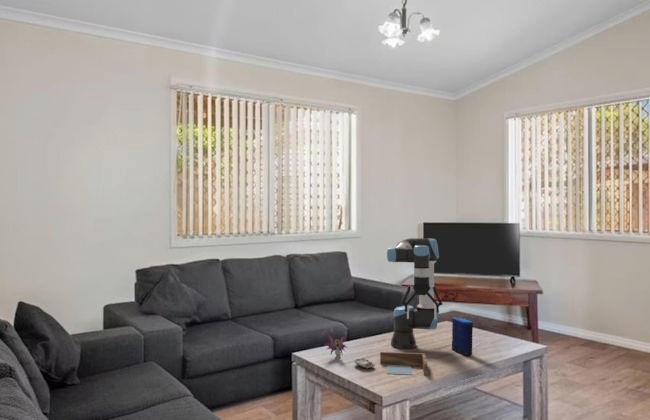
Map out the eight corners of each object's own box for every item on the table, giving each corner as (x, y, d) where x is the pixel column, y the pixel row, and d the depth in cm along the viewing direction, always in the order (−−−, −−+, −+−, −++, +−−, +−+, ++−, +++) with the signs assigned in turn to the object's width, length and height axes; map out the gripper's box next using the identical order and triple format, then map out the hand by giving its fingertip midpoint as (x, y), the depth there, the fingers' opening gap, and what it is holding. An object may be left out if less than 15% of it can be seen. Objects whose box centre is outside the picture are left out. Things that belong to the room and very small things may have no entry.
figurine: (350, 357, 271) (350, 330, 271) (347, 361, 263) (347, 333, 263) (327, 355, 275) (327, 328, 275) (323, 359, 267) (323, 332, 267)
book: (450, 350, 285) (450, 316, 285) (457, 349, 287) (457, 315, 287) (466, 357, 271) (465, 321, 272) (473, 356, 273) (473, 320, 274)
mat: (387, 365, 256) (387, 364, 256) (410, 366, 255) (410, 365, 255) (387, 373, 242) (387, 373, 242) (411, 375, 241) (411, 374, 241)
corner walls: (380, 362, 261) (380, 351, 261) (425, 364, 257) (425, 353, 257) (379, 373, 243) (379, 361, 243) (427, 375, 240) (427, 363, 240)
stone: (350, 364, 257) (351, 357, 257) (365, 362, 261) (365, 356, 261) (363, 370, 246) (363, 363, 246) (378, 368, 251) (378, 361, 251)
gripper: (396, 277, 241) (396, 319, 241) (447, 277, 239) (448, 320, 238) (396, 275, 249) (396, 316, 249) (445, 275, 246) (446, 317, 246)
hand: (421, 318), depth 243 cm, fingers open, 13 cm apart
